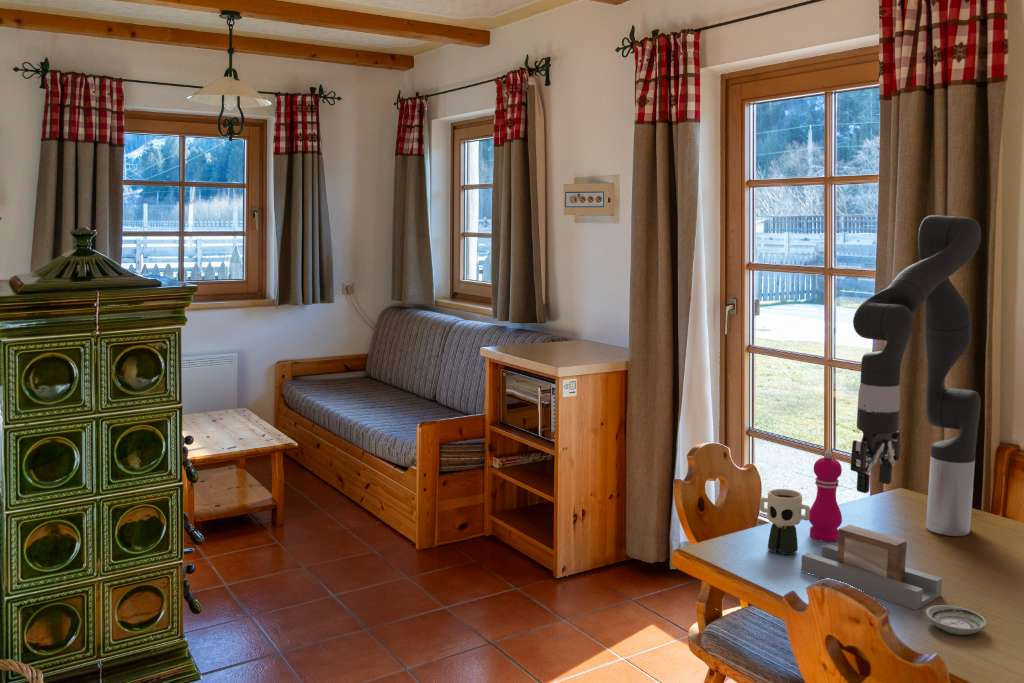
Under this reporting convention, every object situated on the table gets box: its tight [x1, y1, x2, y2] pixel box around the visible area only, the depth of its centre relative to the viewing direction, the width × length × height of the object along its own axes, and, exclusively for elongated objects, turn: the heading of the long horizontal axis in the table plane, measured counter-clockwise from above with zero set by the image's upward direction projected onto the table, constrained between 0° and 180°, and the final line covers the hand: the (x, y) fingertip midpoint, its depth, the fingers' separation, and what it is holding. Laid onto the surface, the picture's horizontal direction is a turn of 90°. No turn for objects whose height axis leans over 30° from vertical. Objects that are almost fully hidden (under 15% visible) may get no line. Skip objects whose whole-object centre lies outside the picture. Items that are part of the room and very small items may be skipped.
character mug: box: [759, 488, 811, 555], centre depth 197 cm, size 11×7×13 cm, turn 55°
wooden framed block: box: [837, 524, 908, 583], centre depth 180 cm, size 4×12×9 cm, turn 40°
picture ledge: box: [800, 543, 943, 611], centre depth 180 cm, size 10×24×4 cm, turn 40°
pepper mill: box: [808, 450, 843, 543], centre depth 205 cm, size 7×7×20 cm
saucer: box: [925, 604, 987, 636], centre depth 161 cm, size 10×10×2 cm
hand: (874, 487), depth 178 cm, fingers open, 8 cm apart
